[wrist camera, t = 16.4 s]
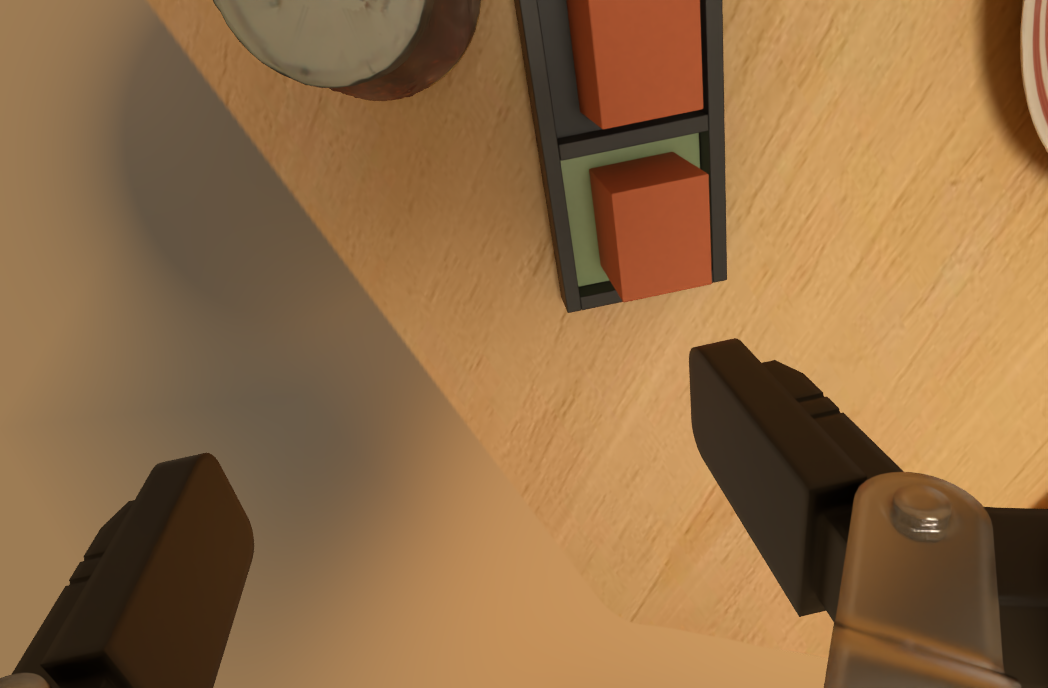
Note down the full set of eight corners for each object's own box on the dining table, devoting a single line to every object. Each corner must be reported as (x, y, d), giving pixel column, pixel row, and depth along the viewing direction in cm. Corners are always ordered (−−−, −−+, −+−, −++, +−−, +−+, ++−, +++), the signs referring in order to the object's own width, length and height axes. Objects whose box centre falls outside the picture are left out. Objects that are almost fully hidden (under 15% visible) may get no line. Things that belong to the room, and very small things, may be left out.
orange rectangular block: (579, 112, 31) (602, 130, 27) (564, -12, 29) (586, -15, 24) (667, 94, 32) (704, 109, 27) (660, -32, 29) (699, -38, 24)
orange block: (600, 266, 35) (623, 303, 31) (588, 168, 33) (611, 193, 28) (678, 249, 35) (712, 284, 31) (673, 151, 33) (708, 173, 28)
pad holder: (561, 298, 37) (567, 313, 35) (506, -47, 28) (511, -51, 27) (713, 266, 37) (727, 280, 35) (703, -86, 29) (721, -93, 27)
